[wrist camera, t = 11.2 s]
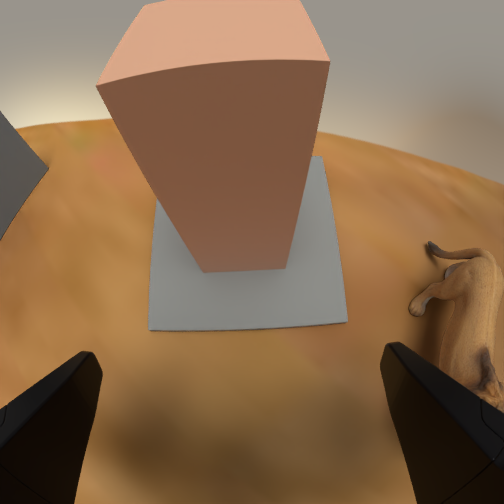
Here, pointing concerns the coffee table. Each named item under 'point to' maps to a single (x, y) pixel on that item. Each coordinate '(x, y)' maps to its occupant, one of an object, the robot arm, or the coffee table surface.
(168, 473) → the coffee table surface
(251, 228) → the salmon pink tall block
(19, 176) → the screen
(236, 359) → the coffee table surface
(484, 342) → the lion figurine
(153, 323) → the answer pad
